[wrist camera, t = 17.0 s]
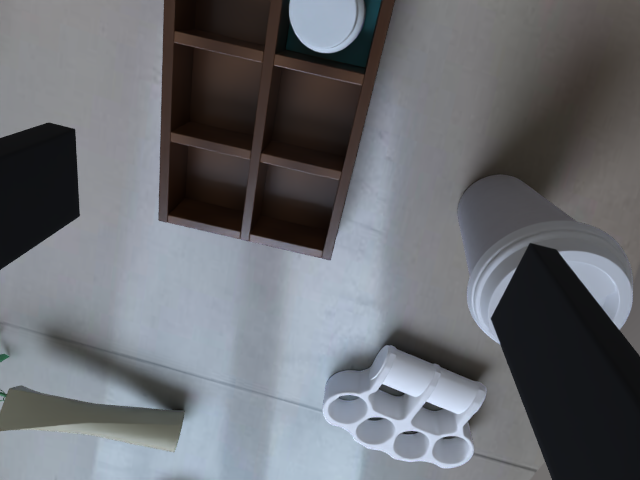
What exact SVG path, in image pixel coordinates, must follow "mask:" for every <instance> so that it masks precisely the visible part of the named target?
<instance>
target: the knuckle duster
mask: <svg viewBox="0 0 640 480" xmlns="http://www.w3.org/2000/svg"><path fill="white" fill-rule="evenodd" d="M382 384H384V385H386V386H389V387H391V388H394V389H396V390H398V391H401V392H403V393H405V394H404V395H402V396H393V395H391V394H388V393H386V392H383V391H381V390H378V389H379V387H380V386H381V385H382ZM486 394H487V388H486V386H485V385H483V384H482V383H481V382H479V381H473V380H470V379H468V378H465V377H463V376H461V375H458V374H456V373H453V372H451V371H449V370H446V369H444V368H441V367H440V366H439V365H438V364H435V363H434V364H432V363H429V362H427V361H424V360H422V359H420V358H417V357H415V356H412V355H410V354H407V353H405V352H403V351H400V350H398V349H396V347H394V346H392V345H390V346H388V345H386V346H384V347H383V348H382V349H381V350H380V352H379V353H378V355H377V356H376V358H375V360H374V362H373V364H372V366H371V367H370V368H368V369H365V370H362V371H356V370H346V371H341V372H338V373H336V374H334V375H333V376H332V377H330V379H329V380H328V381H327V383H326V386H325V393H324V400H323V415H324V417H325V419H326V420H327V422H328V423H329V424H330V425H334V426H338V427H341V428H343V429H345V430H347V431H348V432H349V433H350V434H351V435H352V436H353V437H354V439H353V440H355V441H356V442H358V443H360V444H361V445H363V446H364V447H366V448H367V449H375V450H379V451H383V452H385V453H387V454H389V455H390V456H391V457H392V458H393V459H397V460H402V461H407V462H413V461H425V462H430V463H433V464H436V465H437V466H439V467H441V468H453V467H457V466H460V465H463V464H464V463H466V462H467V461H469V460H470V458H471V457H472V455H473V453H474V443H473V439H472V435H471V431H470V426H469V422H468V420H469V419H470V418H471V417H472V416H473V414H475V413H476V412H477V411H478V410H479V408H480V407H481V405H482V403H483V402H484V399H485V397H486ZM343 395H354V396H358V397H359V398H358V399H355V400H349V401H348V400H342V399H339V398H338V397H340V396H343ZM425 402H428V403H431V404H433V405H436V406H438V407H441V408H443V409H441V410H437V411H431V410H428V409H426V408H423V407H422V406H423V405H424V404H425ZM372 417H381V418H384V419H381V420H377V421H372V420H367V419H369V418H372ZM406 431H417V432H418V433H416V434H403V432H406ZM446 436H456V437H454V438H451V439H441V438H443V437H446Z"/></svg>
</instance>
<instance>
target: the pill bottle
mask: <svg viewBox="0 0 640 480" xmlns="http://www.w3.org/2000/svg"><path fill="white" fill-rule="evenodd" d="M365 16H366V7H365V2H364V0H290V4H289V17H290V21H291V25H292V27H293V30H294V32H295V34H296V36H297V37H298V38H299V40H300V41H301V42H302V43H303V44H304V45H305V46H307V47H308V48H310V49H312V50H314V51H316V52H320V53H335V52H338V51H340V50H342V49H344V48H346V47H347V46H348V45H349V44H351V43H352V42H353V41H354V40H355V39H356V38H357V37H358V35H359V34H360V32H361V30H362V28H363V25H364V22H365Z"/></svg>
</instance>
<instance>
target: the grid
mask: <svg viewBox="0 0 640 480" xmlns="http://www.w3.org/2000/svg"><path fill="white" fill-rule="evenodd" d="M364 2H365V7H366V16H365V22H364V25H363V28H362V30H361V32H360V34H359V35H358V37H357V38H356V39H355V40H354V41H353V42H352V43H351V44H349V45H348V46H347V47H346V48H344V49H342V50H340V51H338V52H335V53H320V52H316V51H314V50H312V49H310V48H308V47H307V46H305V45H304V44H303V43H302V42H301V41H300V40H299V38H298V37H297V36H296V34H295V32H294V30H293V27H292V25H291V21H290V17H289V4H290V0H164V25H163V65H162V104H161V143H160V183H159V221H163V222H168V223H172V224H176V225H181V226H185V227H189V228H194V229H198V230H202V231H207V232H211V233H215V234H220V235H224V236H228V237H232V238H237V239H241V240H245V241H250V242H254V243H258V244H262V245H267V246H271V247H275V248H279V249H284V250H288V251H292V252H297V253H301V254H305V255H310V256H314V257H318V258H322V259H327V260H331V256H332V252H333V248H334V244H335V240H336V236H337V232H338V228H339V224H340V220H341V216H342V212H343V208H344V204H345V200H346V196H347V192H348V188H349V184H350V180H351V176H352V172H353V168H354V164H355V160H356V156H357V152H358V147H359V143H360V139H361V135H362V131H363V127H364V123H365V119H366V115H367V111H368V107H369V103H370V99H371V95H372V91H373V87H374V83H375V79H376V75H377V71H378V67H379V63H380V59H381V55H382V51H383V47H384V43H385V39H386V35H387V31H388V27H389V23H390V19H391V15H392V10H393V6H394V2H395V0H364Z"/></svg>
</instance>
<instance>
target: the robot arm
mask: <svg viewBox="0 0 640 480" xmlns="http://www.w3.org/2000/svg"><path fill="white" fill-rule="evenodd" d="M79 216H80V213H79V194H78V174H77V155H76V136H75V129H72V128H68V127H64V126H60V125H56V124H52V123H46V124H43V125H39V126H36V127H33V128H30V129H27V130H24V131H21V132H18V133H15V134H12V135H9V136H6V137H2V138H0V270H1V269H2V268H4V267H5V266H7V265H8V264H9V263H11V262H12V261H14V260H15V259H17V258H18V257H20V256H21V255H23V254H24V253H26V252H27V251H29V250H30V249H32V248H33V247H35V246H36V245H38V244H39V243H41V242H42V241H44V240H45V239H47V238H48V237H50V236H51V235H52V234H54V233H55V232H57V231H58V230H60V229H61V228H63V227H64V226H66V225H67V224H69V223H70V222H72V221H73V220H75V219H76V218H78V217H79ZM491 321H492V324H493V326H494V329H495V332H496V334H497V337H498V339H499V342H500V345H501V347H502V350H503V352H504V355H505V358H506V360H507V363H508V365H509V368H510V371H511V373H512V376H513V379H514V381H515V384H516V386H517V389H518V392H519V394H520V397H521V399H522V402H523V405H524V407H525V410H526V412H527V415H528V418H529V420H530V423H531V426H532V428H533V431H534V433H535V436H536V439H537V441H538V444H539V446H540V449H541V452H542V454H543V457H544V459H545V462H546V465H547V467H548V470H549V472H550V475H551V478H552V480H640V356H639V355H638V353H637V352H636V351H635V350H634V348H633V347H632V346H631V344H630V343H629V342H628V341H627V339H626V338H625V337H624V335H623V334H622V333H621V332H620V330H619V329H618V328H617V327H616V325H615V324H614V323H613V321H612V320H611V319H610V318H609V316H608V315H607V314H606V312H605V311H604V310H603V309H602V307H601V306H600V305H599V303H598V302H597V301H596V300H595V298H594V297H593V296H592V294H591V293H590V292H589V291H588V289H587V288H586V287H585V285H584V284H583V283H582V282H581V280H580V279H579V278H578V277H577V275H576V274H575V273H574V271H573V270H572V269H571V268H570V266H569V265H568V264H567V262H566V261H565V260H564V259H563V257H562V256H561V255H560V253H559V252H558V251H557V250H556V249H553V248H549V247H545V246H541V245H537V244H533V243H529V245H528V247H527V249H526V251H525V253H524V255H523V257H522V259H521V261H520V263H519V265H518V267H517V268H516V270H515V272H514V274H513V276H512V278H511V280H510V282H509V284H508V286H507V288H506V290H505V292H504V294H503V296H502V297H501V299H500V301H499V303H498V305H497V307H496V309H495V311H494V313H493V315H492V317H491Z"/></svg>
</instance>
